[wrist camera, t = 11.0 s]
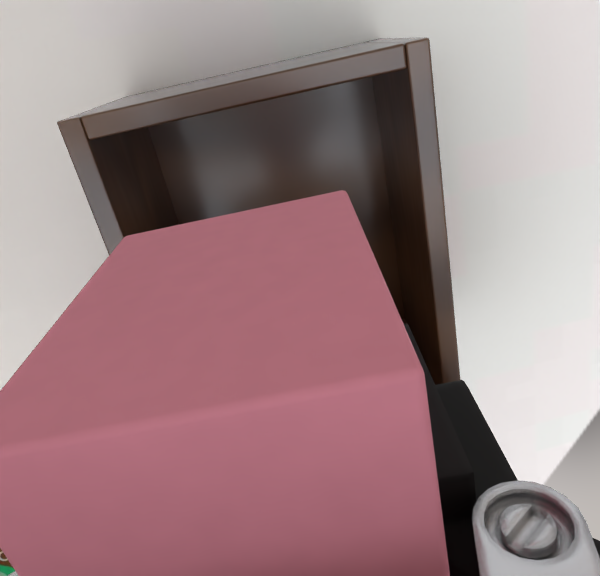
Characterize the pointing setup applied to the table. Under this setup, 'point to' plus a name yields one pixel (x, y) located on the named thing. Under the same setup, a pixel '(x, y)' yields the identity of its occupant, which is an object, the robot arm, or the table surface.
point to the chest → (290, 163)
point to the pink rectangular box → (225, 412)
